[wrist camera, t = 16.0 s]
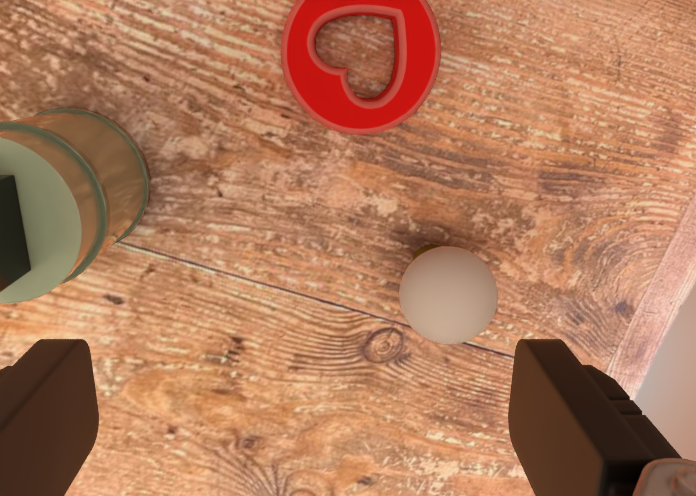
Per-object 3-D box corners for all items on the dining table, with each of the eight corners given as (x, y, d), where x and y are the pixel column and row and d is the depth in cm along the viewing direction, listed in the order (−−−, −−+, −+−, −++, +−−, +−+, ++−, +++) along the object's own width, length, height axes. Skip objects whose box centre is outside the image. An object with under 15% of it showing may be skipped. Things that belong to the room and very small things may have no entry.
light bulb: (457, 303, 44) (492, 370, 35) (379, 287, 44) (393, 351, 34) (480, 228, 43) (524, 277, 33) (399, 210, 42) (420, 255, 32)
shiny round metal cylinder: (-7, 107, 39) (-130, 126, 29) (142, 106, 39) (75, 124, 29) (19, 248, 42) (-84, 312, 32) (157, 246, 42) (101, 308, 32)
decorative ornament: (457, 9, 38) (468, 5, 35) (397, 151, 41) (403, 158, 38) (315, -54, 37) (315, -65, 34) (262, 96, 39) (257, 99, 36)
